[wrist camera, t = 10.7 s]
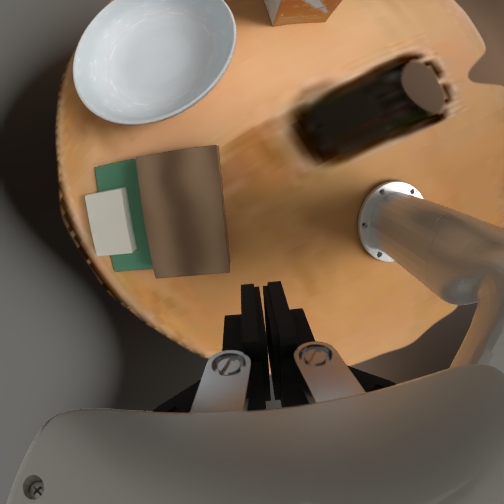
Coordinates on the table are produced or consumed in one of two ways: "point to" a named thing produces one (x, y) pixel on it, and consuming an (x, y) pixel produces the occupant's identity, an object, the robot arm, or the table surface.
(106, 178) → the mat
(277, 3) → the small box
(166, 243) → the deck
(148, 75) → the serving bowl
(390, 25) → the table surface
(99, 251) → the light grey flat block
